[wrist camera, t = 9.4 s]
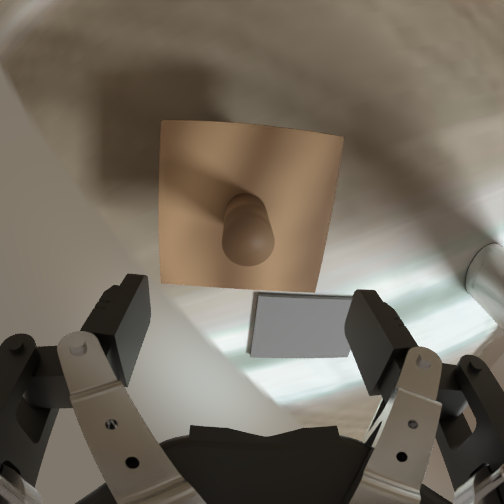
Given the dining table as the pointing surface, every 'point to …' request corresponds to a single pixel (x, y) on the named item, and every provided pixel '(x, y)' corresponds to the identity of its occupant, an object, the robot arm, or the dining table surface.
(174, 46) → the dining table surface
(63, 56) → the dining table surface
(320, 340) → the mat
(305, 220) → the lid
